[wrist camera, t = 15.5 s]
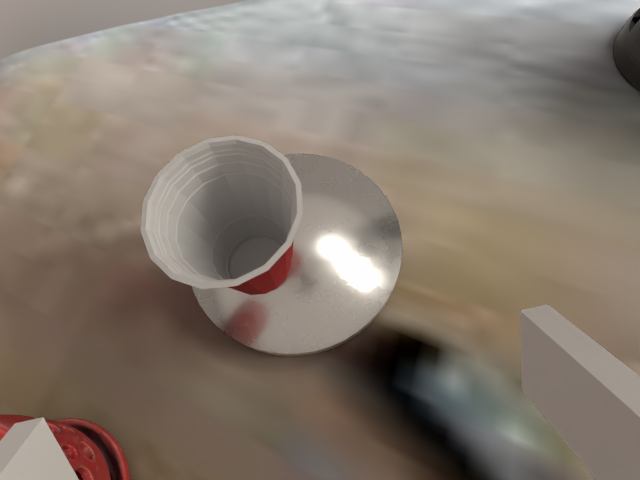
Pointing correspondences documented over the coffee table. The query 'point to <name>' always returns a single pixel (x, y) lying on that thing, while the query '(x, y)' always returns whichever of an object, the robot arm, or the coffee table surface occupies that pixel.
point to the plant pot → (82, 447)
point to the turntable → (320, 268)
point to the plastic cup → (224, 215)
